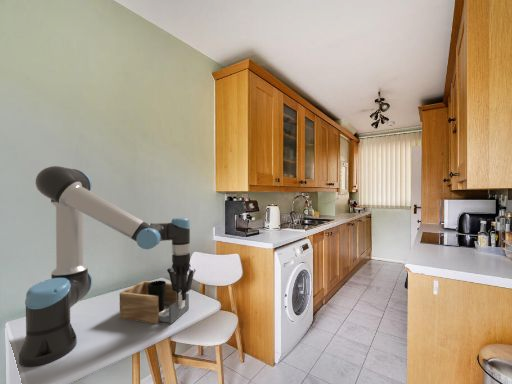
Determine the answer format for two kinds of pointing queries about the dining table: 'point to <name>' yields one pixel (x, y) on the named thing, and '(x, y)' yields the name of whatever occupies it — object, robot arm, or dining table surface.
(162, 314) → the grey drawer
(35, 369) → the dining table surface
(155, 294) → the cup
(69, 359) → the dining table surface
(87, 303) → the dining table surface
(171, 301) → the housing
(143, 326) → the dining table surface
